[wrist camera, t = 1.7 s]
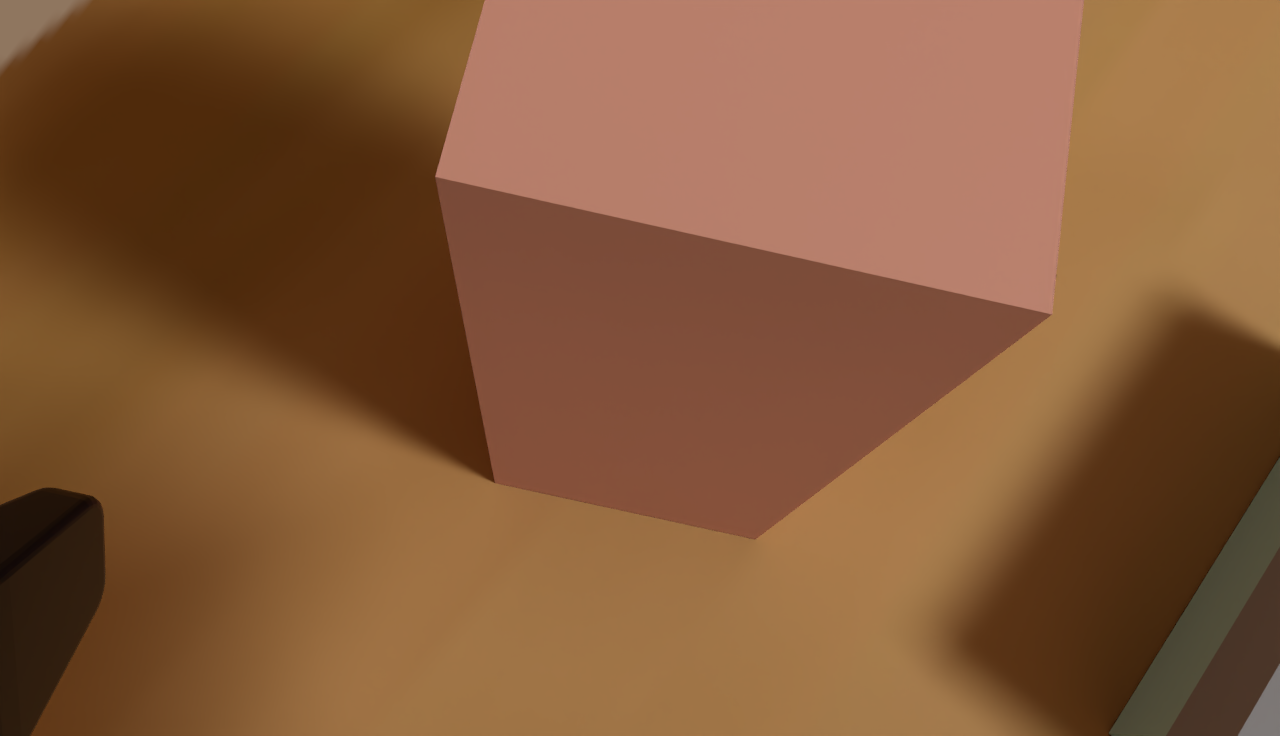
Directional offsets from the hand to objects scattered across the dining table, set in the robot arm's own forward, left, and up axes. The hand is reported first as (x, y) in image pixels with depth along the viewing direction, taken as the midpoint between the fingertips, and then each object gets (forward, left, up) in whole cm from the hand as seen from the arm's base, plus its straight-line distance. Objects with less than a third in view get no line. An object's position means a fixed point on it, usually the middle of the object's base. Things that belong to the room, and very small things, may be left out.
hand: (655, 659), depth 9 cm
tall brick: (+5, -2, -12) cm, 13 cm away
